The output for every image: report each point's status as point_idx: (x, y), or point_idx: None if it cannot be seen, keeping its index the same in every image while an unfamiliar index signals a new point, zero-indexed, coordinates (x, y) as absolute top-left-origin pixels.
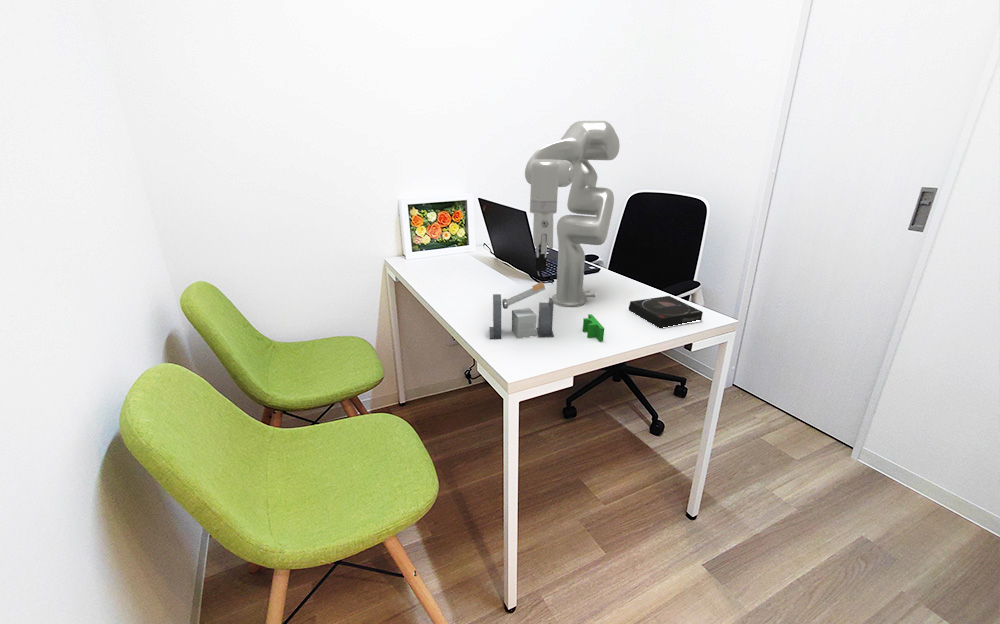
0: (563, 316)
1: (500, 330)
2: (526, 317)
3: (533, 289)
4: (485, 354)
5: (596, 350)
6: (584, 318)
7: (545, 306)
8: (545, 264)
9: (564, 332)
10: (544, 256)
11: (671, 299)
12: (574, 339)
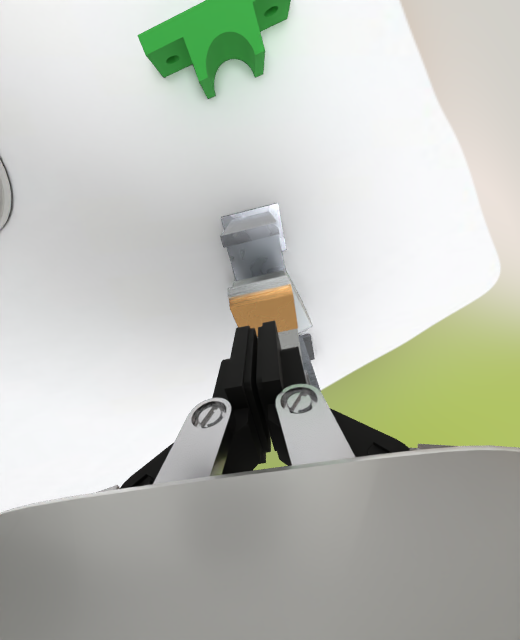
0: (104, 183)
1: (305, 347)
2: (301, 302)
3: (292, 328)
4: (386, 349)
5: (359, 34)
6: (198, 76)
7: (273, 252)
8: (278, 349)
9: (235, 170)
10: (343, 415)
11: None
12: (282, 129)
